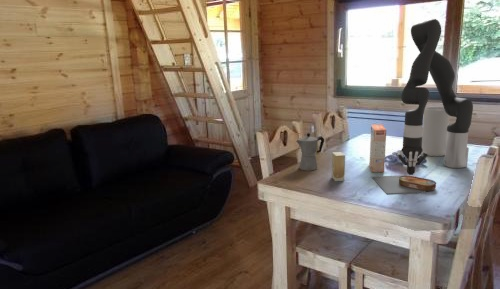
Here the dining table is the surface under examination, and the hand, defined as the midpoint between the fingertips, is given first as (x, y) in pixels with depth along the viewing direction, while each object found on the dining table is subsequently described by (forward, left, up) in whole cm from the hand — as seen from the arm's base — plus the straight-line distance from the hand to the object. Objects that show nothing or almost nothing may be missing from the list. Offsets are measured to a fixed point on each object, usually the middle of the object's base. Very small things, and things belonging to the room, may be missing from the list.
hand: (410, 174), depth 171 cm
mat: (+5, 0, -4) cm, 7 cm away
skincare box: (+29, -10, -5) cm, 31 cm away
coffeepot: (+39, -29, -5) cm, 49 cm away
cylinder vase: (-31, -47, -5) cm, 56 cm away
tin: (-4, +1, -3) cm, 5 cm away
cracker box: (+7, -24, -5) cm, 25 cm away
